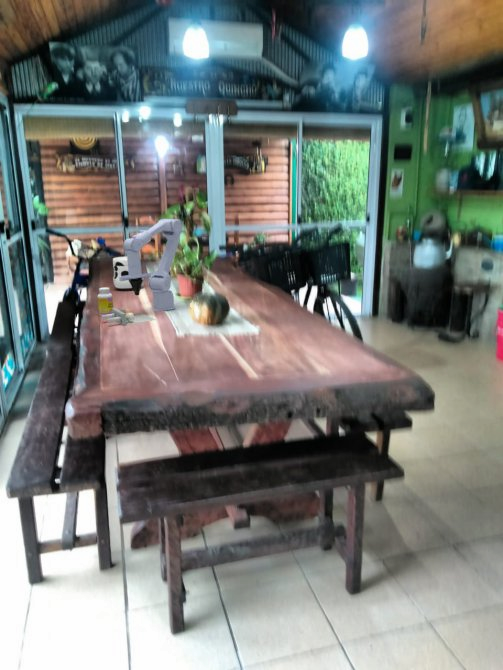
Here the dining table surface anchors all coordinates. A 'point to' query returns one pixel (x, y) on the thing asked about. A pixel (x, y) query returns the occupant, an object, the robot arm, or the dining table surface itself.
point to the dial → (127, 311)
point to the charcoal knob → (111, 315)
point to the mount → (136, 318)
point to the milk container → (121, 273)
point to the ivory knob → (128, 317)
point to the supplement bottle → (105, 301)
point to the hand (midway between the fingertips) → (137, 294)
